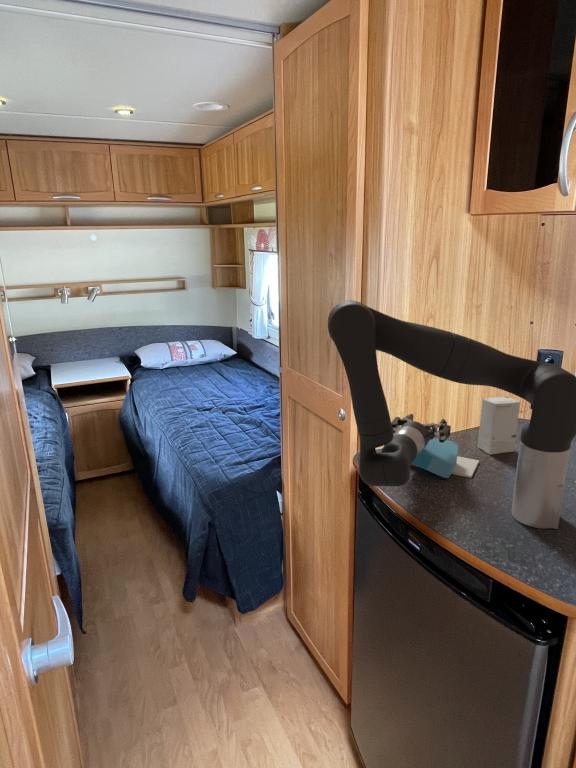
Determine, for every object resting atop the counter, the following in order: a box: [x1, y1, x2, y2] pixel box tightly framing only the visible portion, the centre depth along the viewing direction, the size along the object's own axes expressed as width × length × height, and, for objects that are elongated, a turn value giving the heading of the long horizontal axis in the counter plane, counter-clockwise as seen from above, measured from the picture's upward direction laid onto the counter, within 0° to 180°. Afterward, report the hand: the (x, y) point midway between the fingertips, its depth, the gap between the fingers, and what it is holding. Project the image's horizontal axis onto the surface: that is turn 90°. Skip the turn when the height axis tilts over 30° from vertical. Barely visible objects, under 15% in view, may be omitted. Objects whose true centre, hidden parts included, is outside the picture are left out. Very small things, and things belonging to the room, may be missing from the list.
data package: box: [412, 438, 459, 479], centre depth 129 cm, size 12×4×12 cm
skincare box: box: [477, 396, 521, 456], centre depth 139 cm, size 8×6×15 cm
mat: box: [416, 455, 480, 479], centre depth 132 cm, size 14×10×1 cm
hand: (427, 419), depth 132 cm, fingers open, 8 cm apart
